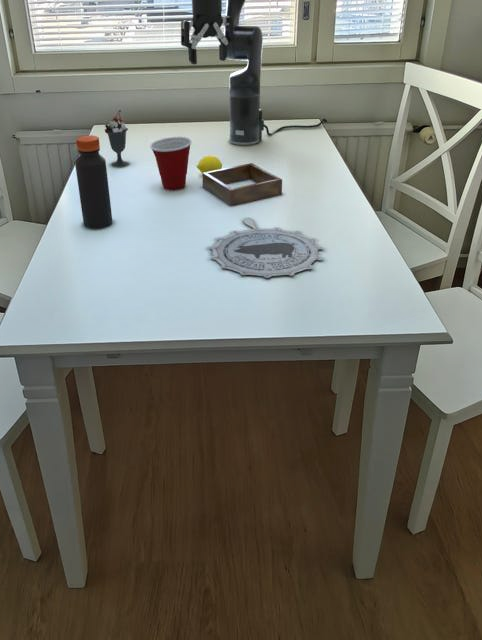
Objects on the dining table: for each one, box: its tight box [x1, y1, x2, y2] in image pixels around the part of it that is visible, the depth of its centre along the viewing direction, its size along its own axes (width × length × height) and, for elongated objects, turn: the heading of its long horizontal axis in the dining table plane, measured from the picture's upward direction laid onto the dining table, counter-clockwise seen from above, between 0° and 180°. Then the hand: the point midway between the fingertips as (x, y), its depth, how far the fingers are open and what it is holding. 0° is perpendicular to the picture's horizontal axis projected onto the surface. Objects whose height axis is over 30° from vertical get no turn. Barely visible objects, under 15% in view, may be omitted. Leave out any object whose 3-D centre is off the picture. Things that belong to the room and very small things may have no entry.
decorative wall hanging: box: [209, 217, 325, 279], centre depth 137 cm, size 24×1×30 cm
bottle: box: [74, 134, 113, 230], centre depth 144 cm, size 7×7×20 cm
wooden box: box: [201, 162, 283, 207], centre depth 164 cm, size 15×15×4 cm
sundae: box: [104, 110, 129, 168], centre depth 181 cm, size 7×7×15 cm
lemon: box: [196, 154, 223, 174], centre depth 174 cm, size 7×5×5 cm
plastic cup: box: [149, 136, 193, 191], centre depth 165 cm, size 11×11×12 cm
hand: (208, 62), depth 167 cm, fingers open, 8 cm apart
